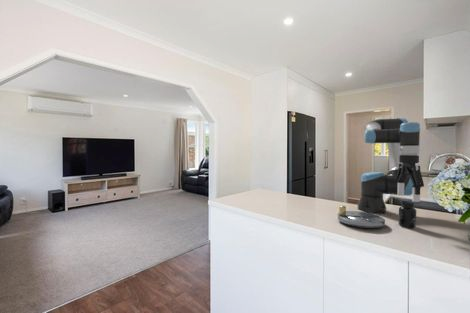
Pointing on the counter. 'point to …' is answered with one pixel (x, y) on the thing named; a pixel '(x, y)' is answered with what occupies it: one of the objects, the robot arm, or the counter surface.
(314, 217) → the counter surface
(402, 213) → the supplement bottle
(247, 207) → the counter surface
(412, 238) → the counter surface
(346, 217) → the turntable
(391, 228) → the counter surface
